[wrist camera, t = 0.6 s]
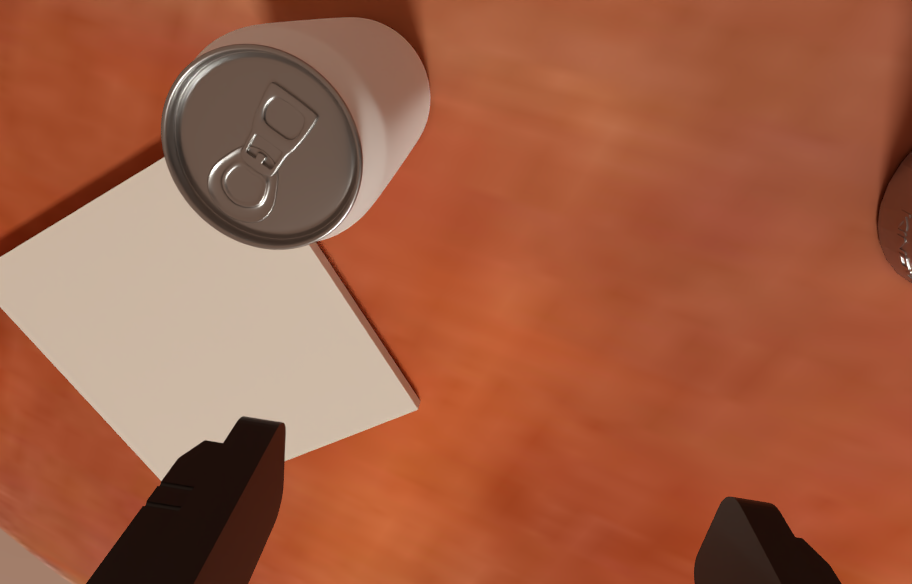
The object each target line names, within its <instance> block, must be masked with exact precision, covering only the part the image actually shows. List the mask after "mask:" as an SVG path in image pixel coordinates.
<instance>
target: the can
mask: <svg viewBox="0 0 912 584" xmlns="http://www.w3.org/2000/svg"><path fill="white" fill-rule="evenodd" d="M429 110H430V87H429V81H428V77H427V74H426V71H425V68H424V66H423V64H422V61H421V60H420V58H419V56H418V54H417V53H416V51H415V50H414V49H413V47H412V46H411V45H410V44H409V43H408V41H407V40H406V39H405V38H403V37H402V36H401V35H400V34H399V33H397V32H396V31H395V30H393V29H392V28H390V27H388V26H386V25H384V24H382V23H380V22H377V21H374V20H370V19H366V18H358V17H341V18H325V19H311V20H298V21H286V22H275V23H266V24H259V25H253V26H248V27H244V28H240V29H237V30H235V31H232V32H230V33H227V34H225V35H223V36H221V37H220V38H218V39H216V40H215V41H213V42H212V43H211V44H209V45H208V46H207V47H206V48H205V49H204V50H203V51H202V52H201V53H200V54H199V55H198V56H197V57H196V58H195V60H194V61H192V62H191V63H190V64H189V65H188V66H187V67H186V68H185V69H184V70H183V71H182V72H181V73H180V74H179V76H178V77H177V78H176V80H175V81H174V83H173V85H172V87H171V89H170V91H169V93H168V95H167V98H166V101H165V104H164V108H163V113H162V121H161V139H162V147H163V152H164V157H165V160H166V164H167V167H168V169H169V172H170V174H171V177H172V179H173V181H174V183H175V185H176V186H177V188H178V190H179V191H180V193H181V195H182V196H183V197H184V199H185V200H186V202H187V203H188V204H189V205H190V207H191V208H192V209H193V210H194V211H195V212H196V213H197V214H198V215H199V216H200V217H201V218H202V219H203V220H204V221H205V222H207V223H208V224H209V225H210V226H212V227H213V228H215V229H216V230H217V231H219V232H221V233H222V234H224V235H226V236H227V237H229V238H231V239H233V240H236V241H238V242H241V243H243V244H246V245H249V246H253V247H257V248H262V249H270V250H287V249H294V248H299V247H303V246H306V245H309V244H312V243H314V242H316V241H321V240H324V239H327V238H330V237H333V236H335V235H337V234H339V233H341V232H343V231H345V230H346V229H348V228H349V227H351V226H352V225H353V224H354V223H356V222H357V221H358V220H359V219H360V218H361V217H362V216H363V215H364V214H365V213H366V212H367V211H368V210H369V209H370V208H371V206H372V205H373V204H374V203H375V201H376V200H377V199H378V197H379V196H380V194H381V193H382V192H383V190H384V189H385V187H386V186H387V185H388V183H389V182H390V180H391V179H392V178H393V176H394V175H395V173H396V172H397V170H398V169H399V168H400V166H401V165H402V163H403V162H404V160H405V159H406V157H407V156H408V154H409V153H410V152H411V150H412V149H413V147H414V146H415V144H416V142H417V141H418V139H419V138H420V136H421V134H422V132H423V130H424V128H425V125H426V122H427V119H428V115H429Z"/></svg>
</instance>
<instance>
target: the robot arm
mask: <svg viewBox="0 0 912 584" xmlns="http://www.w3.org/2000/svg"><path fill="white" fill-rule="evenodd" d="M878 232H879V241H880V245H881V248H882V250H883V253H884V255H885V257H886V260H887V261H888V262H889V263H890V265H891V266H892V267H893V268H894V270H895V271H896V272H897V273H898V274H899V275H901V276H902V277H903V278H905V279H906V280H908V281H909V282H911V283H912V151H911V152H910V154H909V155H908V156H907V157H906V158H905V159H904V160H903V162H902V163H901V164H900V166H899V167H898V169H897V171H896V172H895V174H894V176H893V177H892V179H891V181H890V182H889V184H888V186H887V189H886V192H885V194H884V197H883V200H882V202H881V205H880V212H879V219H878ZM285 439H286V427H285V424H284V423H283V422H277V421H271V420H264V419H258V418H252V417H246V416H242V417H241V418H240V419H239V420H238V421H237V422H236V424H235V425H234V427H233V429H232V430H231V432H230V433H229V435H228V436H227V438H226V439H225V441H224V442H223V443H219V442H213V441H207V440H204V441H203V442H201V443H200V444H198V445H197V446H195V447H194V448H192V449H191V450H189V451H188V452H187V453H185V454H184V455H182V456H181V457H179V458H178V459H177V461H176V462H175V463H174V465H173V466H172V467H171V469H170V470H169V471H168V473H167V474H166V476H165V477H164V478H163V480H162V481H161V485H160V486H157V488H156V489H155V490H154V492H153V493H152V495H151V496H150V497H149V499H148V500H147V503H146V506H143V507H142V508H141V510H140V511H139V512H138V514H137V515H136V516H135V518H134V519H133V520H132V522H131V523H130V525H129V526H128V527H127V529H126V530H125V531H124V533H123V534H122V535H121V537H120V538H119V540H118V541H117V542H116V544H115V545H114V546H113V548H112V549H111V550H110V552H109V553H108V555H107V556H106V557H105V559H104V560H103V561H102V563H101V564H100V565H99V567H98V568H97V570H96V571H95V572H94V574H93V575H92V576H91V578H90V579H89V580H88V582H87V583H86V584H248V583H249V580H250V578H251V576H252V574H253V571H254V569H255V567H256V565H257V562H258V560H259V558H260V555H261V553H262V551H263V549H264V546H265V544H266V542H267V540H268V537H269V535H270V533H271V531H272V528H273V526H274V524H275V521H276V518H277V515H278V512H279V508H280V504H281V499H282V494H283V483H284V461H285ZM694 581H695V584H841V582H840V581H839V579H838V577H837V576H836V574H835V573H834V571H833V570H832V568H831V566H830V565H829V564H828V563H827V562H826V561H825V560H824V559H823V558H822V557H821V556H820V555H819V554H818V553H817V552H816V551H815V550H814V549H813V548H812V547H811V546H810V545H809V544H808V543H807V542H806V541H804V540H803V539H802V538H796V537H795V536H794V534H793V533H792V531H791V529H790V528H789V526H788V524H787V523H786V521H785V519H784V518H783V516H782V515H781V513H780V511H779V510H778V508H777V507H776V506H775V505H773V504H771V503H766V502H760V501H754V500H748V499H742V498H736V497H726V498H725V499H724V500H723V501H722V502H721V504H720V506H719V508H718V510H717V512H716V514H715V517H714V519H713V521H712V523H711V526H710V528H709V530H708V532H707V534H706V537H705V539H704V541H703V543H702V545H701V548H700V550H699V552H698V554H697V557H696V561H695V567H694Z"/></svg>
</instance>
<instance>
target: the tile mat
mask: <svg viewBox="0 0 912 584" xmlns="http://www.w3.org/2000/svg"><path fill="white" fill-rule="evenodd" d="M0 307H1V308H2V309H3V310H4V312H5V313H6V314H7V315H8V316H9V317H10V318H11V319H12V320H13V321H14V322H15V323H16V324H17V326H18V327H19V328H20V329H21V330H22V331H23V332H24V333H25V334H26V335H27V336H28V337H29V339H30V340H31V341H32V342H33V343H34V344H35V345H36V346H37V347H38V348H39V349H40V350H41V351H42V353H43V354H44V355H45V356H46V357H47V358H48V359H49V360H50V361H51V362H52V363H53V364H54V366H55V367H56V368H57V369H58V370H59V371H60V372H61V373H62V374H63V375H64V376H65V377H66V379H67V380H68V381H69V382H70V383H71V384H72V385H73V386H74V387H75V388H76V389H77V390H78V391H79V393H80V394H81V395H82V396H83V397H84V398H85V399H86V400H87V401H88V402H89V403H90V404H91V406H92V407H93V408H94V409H95V410H96V411H97V412H98V413H99V414H100V415H101V416H102V417H103V418H104V420H105V421H106V422H107V423H108V424H109V425H110V426H111V427H112V428H113V429H114V430H115V431H116V433H117V434H118V435H119V436H120V437H121V438H122V439H123V440H124V441H125V442H126V443H127V444H128V446H129V447H130V448H131V449H132V450H133V451H134V452H135V453H136V454H137V455H138V456H139V457H140V458H141V460H142V461H143V462H144V463H145V464H146V465H147V466H148V467H149V468H150V469H151V470H152V471H153V473H154V474H155V475H156V476H157V477H158V478H159V479H160V480H161V481H162V480H163V478H164V477H165V476H166V474H167V473H168V471H169V470H170V469H171V467H172V466H173V465H174V463H175V462H176V461H177V459H178V458H179V457H181V456H182V455H184V454H185V453H187V452H188V451H189V450H191V449H192V448H194V447H195V446H197V445H198V444H200V443H201V442H203V441H204V440H207V441H213V442H219V443H223V442H224V441H225V439H226V438H227V436H228V435H229V433H230V432H231V430H232V429H233V427H234V425H235V424H236V422H237V421H238V420H239V419H240V418H241V417H242V416H246V417H252V418H258V419H264V420H271V421H277V422H283V423H284V424H285V427H286V439H285V461H286V460H289V459H292V458H294V457H297V456H299V455H302V454H305V453H307V452H310V451H312V450H315V449H317V448H320V447H323V446H325V445H328V444H330V443H333V442H336V441H338V440H341V439H343V438H346V437H348V436H351V435H354V434H356V433H359V432H361V431H364V430H367V429H369V428H372V427H374V426H377V425H379V424H382V423H385V422H387V421H390V420H392V419H395V418H398V417H400V416H403V415H405V414H408V413H410V412H413V411H416V410H418V409H419V404H420V400H419V398H418V397H417V395H416V394H415V392H414V391H413V389H412V388H411V386H410V385H409V383H408V382H407V380H406V379H405V377H404V375H403V374H402V372H401V371H400V369H399V368H398V366H397V365H396V363H395V362H394V360H393V359H392V357H391V356H390V354H389V353H388V351H387V350H386V348H385V347H384V345H383V344H382V342H381V340H380V339H379V337H378V336H377V334H376V333H375V331H374V330H373V328H372V327H371V325H370V324H369V322H368V321H367V319H366V318H365V316H364V315H363V313H362V312H361V310H360V309H359V307H358V306H357V304H356V302H355V301H354V299H353V298H352V296H351V295H350V293H349V292H348V290H347V289H346V287H345V286H344V284H343V283H342V281H341V280H340V278H339V277H338V275H337V274H336V272H335V271H334V269H333V267H332V266H331V264H330V263H329V261H328V260H327V258H326V257H325V255H324V254H323V252H322V251H321V249H320V248H319V246H318V245H317V243H316V242H314V243H312V244H309V245H306V246H303V247H299V248H294V249H287V250H270V249H262V248H257V247H253V246H249V245H246V244H243V243H241V242H238V241H236V240H233V239H231V238H229V237H227V236H226V235H224V234H222V233H221V232H219V231H217V230H216V229H215V228H213V227H212V226H210V225H209V224H208V223H207V222H205V221H204V220H203V219H202V218H201V217H200V216H199V215H198V214H197V213H196V212H195V211H194V210H193V209H192V208H191V207H190V205H189V204H188V203H187V202H186V200H185V199H184V197H183V196H182V195H181V193H180V191H179V190H178V188H177V186H176V185H175V183H174V181H173V179H172V177H171V174H170V172H169V169H168V167H167V164H166V160H165V157H164V158H162V159H160V160H159V161H157V162H155V163H154V164H152V165H151V166H149V167H147V168H146V169H144V170H142V171H141V172H139V173H137V174H136V175H134V176H132V177H131V178H129V179H128V180H126V181H124V182H123V183H121V184H119V185H118V186H116V187H114V188H113V189H111V190H109V191H108V192H106V193H105V194H103V195H101V196H100V197H98V198H96V199H95V200H93V201H91V202H90V203H88V204H86V205H85V206H83V207H82V208H80V209H78V210H77V211H75V212H73V213H72V214H70V215H68V216H67V217H65V218H63V219H62V220H60V221H59V222H57V223H55V224H54V225H52V226H50V227H49V228H47V229H45V230H44V231H42V232H40V233H39V234H37V235H36V236H34V237H32V238H31V239H29V240H27V241H26V242H24V243H22V244H21V245H19V246H17V247H16V248H14V249H13V250H11V251H9V252H8V253H6V254H4V255H3V256H1V257H0Z"/></svg>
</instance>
